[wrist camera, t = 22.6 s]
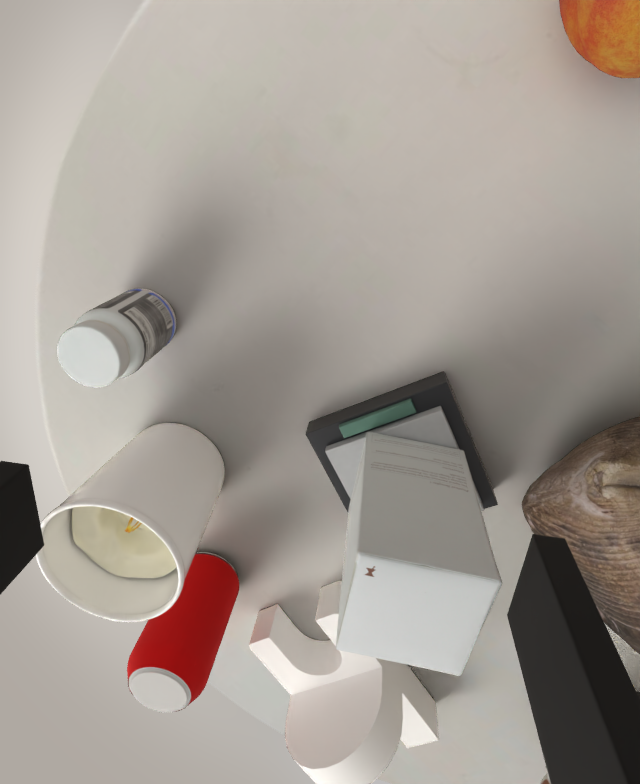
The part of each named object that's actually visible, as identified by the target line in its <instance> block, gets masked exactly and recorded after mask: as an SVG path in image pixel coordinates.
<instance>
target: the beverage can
mask: <svg viewBox="0 0 640 784" xmlns="http://www.w3.org/2000/svg"><path fill="white" fill-rule="evenodd" d="M238 592H239V579H238V575H237V572H236V571H235V569H234V567H233V566H232V565H231V564H230V563H229V562H228V561H227V560H225V559H224V558H222V557H220V556H218V555H215V554H212V553H206V552H198V553H196V554H195V556H194V559H193V561H192V563H191V566H190V568H189V571H188V573H187V576H186V578H185V581H184V585H183V588H182V591H181V594H180V596H179V598H178V599H177V601H176V602H175V603H174V605H173V606H172V607H171V608H170V609H169V610H167V611H166V612H165V613H163V614H161V615H159V616H157V617H155V618H152V619H149V620H148V622H147V624H146V626H145V628H144V630H143V632H142V633H141V636H140V637H139V639H138V641H137V643H136V645H135V647H134V649H133V651H132V653H131V655H130V657H129V661H128V667H127V672H128V686H129V689H130V691H131V693H132V695H133V696H134V697H135V698H136V699H137V700H138V701H139V702H140V703H141V704H142V705H144V706H146V707H148V708H150V709H152V710H155V711H159V712H175V711H180V710H182V709H184V708H185V707H187V706H188V705H189V704H190V703H191V702H192V701H194V700H195V699H196V698H197V697H198V696H199V695H200V694H201V692H202V691H203V689H204V688H205V686H206V683H207V681H208V678H209V675H210V672H211V669H212V666H213V663H214V661H215V658H216V655H217V652H218V649H219V646H220V643H221V641H222V638H223V635H224V632H225V629H226V626H227V623H228V621H229V618H230V615H231V612H232V609H233V606H234V603H235V601H236V598H237V595H238Z"/></svg>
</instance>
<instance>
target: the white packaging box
mask: <svg viewBox="0 0 640 784" xmlns="http://www.w3.org/2000/svg"><path fill="white" fill-rule="evenodd" d="M501 585H502V580H501V577H500V574H499V571H498V569H497V565H496V562H495V559H494V556H493V552H492V549H491V545H490V541H489V538H488V534H487V531H486V527H485V523H484V519H483V516H482V512H481V509H480V505H479V501H478V498H477V494H476V491H475V487H474V483H473V480H472V476H471V473H470V470H469V467H468V463H467V460H466V456H465V453H464V451H463V450H459V449H454V448H449V447H444V446H439V445H434V444H429V443H424V442H419V441H414V440H409V439H404V438H398V437H393V436H388V435H383V434H378V433H373V432H367V433H366V437H365V441H364V445H363V449H362V454H361V458H360V462H359V466H358V470H357V473H356V478H355V482H354V487H353V491H352V496H351V500H350V505H349V511H348V523H347V535H346V545H345V554H344V565H343V574H342V584H341V595H340V606H339V617H338V627H337V638H336V649H337V650H340V651H345V652H350V653H355V654H360V655H365V656H370V657H374V658H379V659H384V660H388V661H393V662H397V663H402V664H407V665H411V666H416V667H421V668H425V669H430V670H434V671H439V672H443V673H448V674H452V675H457V676H461V675H462V672H463V670H464V668H465V665H466V663H467V661H468V658H469V656H470V653H471V651H472V649H473V646H474V644H475V642H476V639H477V637H478V634H479V632H480V630H481V628H482V626H483V624H484V622H485V619H486V617H487V615H488V613H489V611H490V609H491V607H492V605H493V602H494V600H495V598H496V596H497V594H498V591H499V589H500V587H501Z"/></svg>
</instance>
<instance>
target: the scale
mask: <svg viewBox="0 0 640 784" xmlns="http://www.w3.org/2000/svg"><path fill="white" fill-rule="evenodd" d="M367 432H373V433H378V434H383V435H388V436H393V437H398V438H404V439H409V440H414V441H419V442H424V443H429V444H434V445H439V446H444V447H449V448H454V449H459V450H463V451H464V453H465V456H466V460H467V463H468V467H469V470H470V473H471V476H472V480H473V483H474V487H475V491H476V494H477V498H478V501H479V505H480V509H481V511H482V510H484V509H485V508H488V507H492V506H495V505H498V504H497V501H496V497H495V494H494V491H493V488H492V486H491V483H490V481H489V479H488V476H487V474H486V471H485V469H484V466H483V464H482V462H481V459H480V457H479V454H478V452H477V449H476V447H475V445H474V442H473V440H472V437H471V435H470V432H469V430H468V428H467V425H466V423H465V420H464V418H463V416H462V413H461V411H460V408H459V406H458V403H457V401H456V399H455V396H454V394H453V391H452V389H451V386H450V384H449V382H448V379H447V377H446V374H445V372H441V373H438V374H436V375H433V376H430V377H428V378H425V379H422V380H420V381H417V382H414V383H412V384H409V385H407V386H404V387H401V388H399V389H396V390H393V391H391V392H388V393H385V394H383V395H380V396H377V397H375V398H372V399H369V400H367V401H364V402H361V403H359V404H356V405H353V406H351V407H348V408H345V409H343V410H340V411H337V412H335V413H332V414H329V415H327V416H324V417H321V418H319V419H316V420H313V421H311V422H309V425H308V428H307V432H306V436H307V437H308V439H309V441H310V443H311V445H312V447H313V449H314V450H315V452H316V454H317V456H318V458H319V460H320V462H321V463H322V465H323V467H324V469H325V471H326V473H327V475H328V476H329V478H330V480H331V482H332V484H333V486H334V487H335V489H336V491H337V493H338V495H339V497H340V499H341V500H342V502H343V504H344V506H345V508H346V510H347V512H348V511H349V505H350V500H351V496H352V491H353V487H354V482H355V478H356V473H357V470H358V466H359V462H360V458H361V454H362V449H363V445H364V441H365V437H366V433H367Z"/></svg>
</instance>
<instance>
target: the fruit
mask: <svg viewBox="0 0 640 784" xmlns="http://www.w3.org/2000/svg"><path fill="white" fill-rule="evenodd" d="M559 2H560V12H561V17H562V21H563V24H564V28H565V31H566V33H567V35H568V37H569V39H570V41H571V43H572V45H573V46H574V48H575V49H576V51H577V52H578V53H579V54H580V55H581V56H582V57H583V58H585V59H586V60H587V61H589V62H590V63H592V64H593V65H594V66H596V67H597V68H598V69H599V70H601V71H603V72H605V73H607V74H609V75H612V76H615V77H620V78H640V0H559Z"/></svg>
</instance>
